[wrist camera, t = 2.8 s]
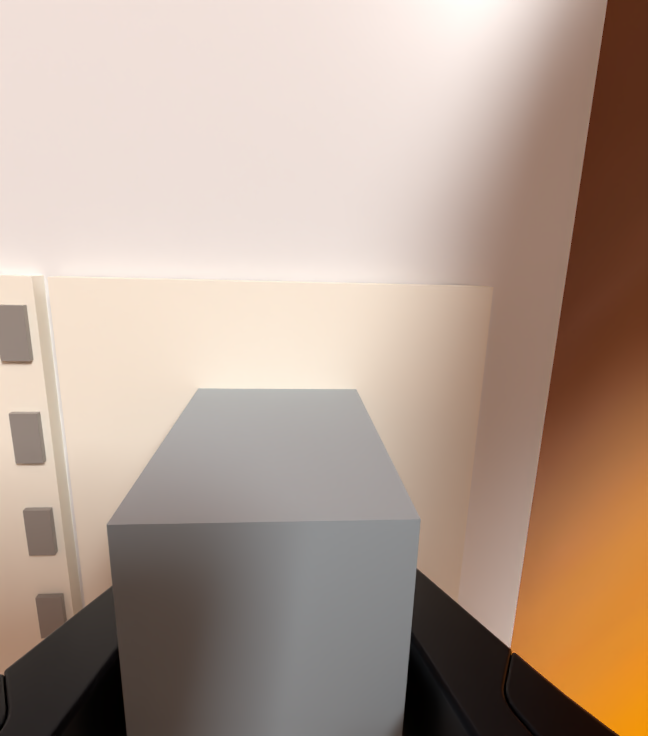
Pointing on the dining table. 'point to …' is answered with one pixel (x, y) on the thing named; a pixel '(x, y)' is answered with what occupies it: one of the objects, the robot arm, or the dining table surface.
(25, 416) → the board
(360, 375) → the cream plate grey block
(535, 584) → the dining table surface
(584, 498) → the dining table surface
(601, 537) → the dining table surface
